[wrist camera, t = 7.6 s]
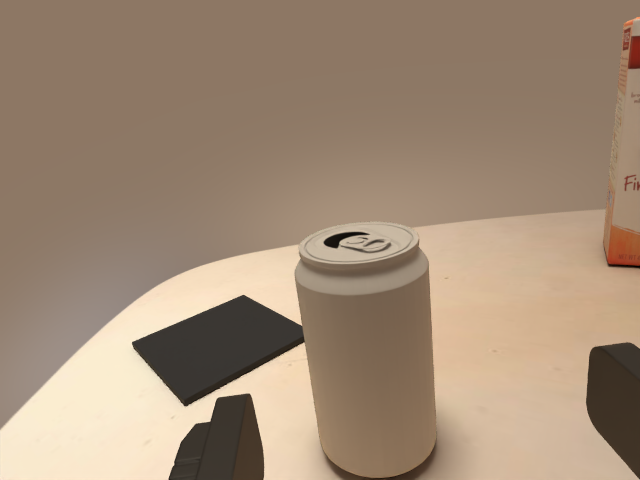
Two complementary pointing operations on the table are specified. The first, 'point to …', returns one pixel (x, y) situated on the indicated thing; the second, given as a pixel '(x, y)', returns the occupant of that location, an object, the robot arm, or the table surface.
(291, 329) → the mat
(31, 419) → the table surface
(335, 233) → the beverage can
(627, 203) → the cracker box
